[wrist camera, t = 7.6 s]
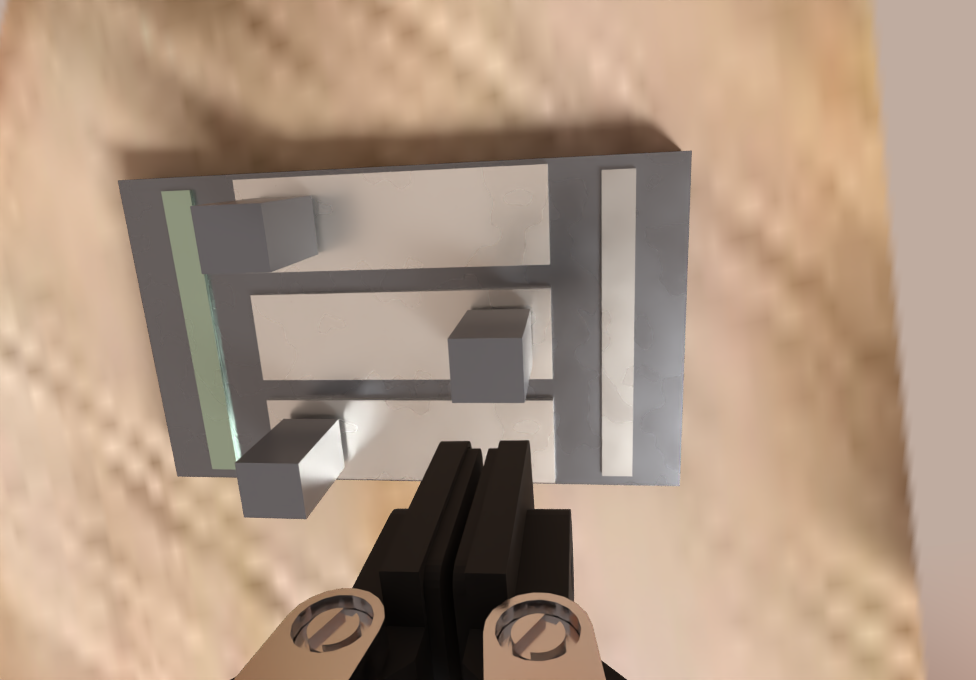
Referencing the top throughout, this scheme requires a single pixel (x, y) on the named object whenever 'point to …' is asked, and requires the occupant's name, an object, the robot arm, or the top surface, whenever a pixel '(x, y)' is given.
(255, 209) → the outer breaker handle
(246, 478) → the handle
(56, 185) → the top surface
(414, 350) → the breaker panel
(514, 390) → the handle
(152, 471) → the top surface
